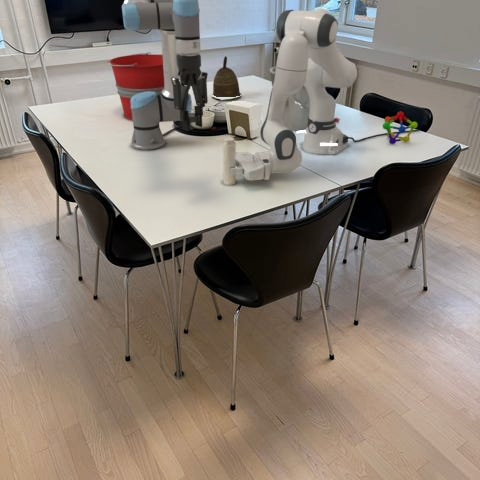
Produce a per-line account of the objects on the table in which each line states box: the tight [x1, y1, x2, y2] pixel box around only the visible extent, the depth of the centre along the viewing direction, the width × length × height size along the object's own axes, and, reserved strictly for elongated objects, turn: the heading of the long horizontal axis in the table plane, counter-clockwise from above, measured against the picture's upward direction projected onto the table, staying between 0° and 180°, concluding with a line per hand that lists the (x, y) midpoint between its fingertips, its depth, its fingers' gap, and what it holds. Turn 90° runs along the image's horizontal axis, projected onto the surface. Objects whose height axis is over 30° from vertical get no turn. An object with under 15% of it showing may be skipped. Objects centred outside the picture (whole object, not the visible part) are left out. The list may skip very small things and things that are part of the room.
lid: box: [188, 112, 200, 124], centre depth 147 cm, size 5×5×2 cm
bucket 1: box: [106, 51, 165, 121], centre depth 240 cm, size 35×35×30 cm
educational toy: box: [382, 110, 418, 145], centre depth 207 cm, size 16×13×15 cm
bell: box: [212, 56, 242, 97], centre depth 278 cm, size 19×26×20 cm
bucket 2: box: [269, 65, 310, 131], centre depth 226 cm, size 30×30×28 cm
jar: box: [222, 136, 237, 186], centre depth 167 cm, size 5×5×18 cm
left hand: (192, 127), depth 149 cm, fingers closed on lid, 5 cm apart
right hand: (227, 167), depth 168 cm, fingers closed on jar, 5 cm apart
